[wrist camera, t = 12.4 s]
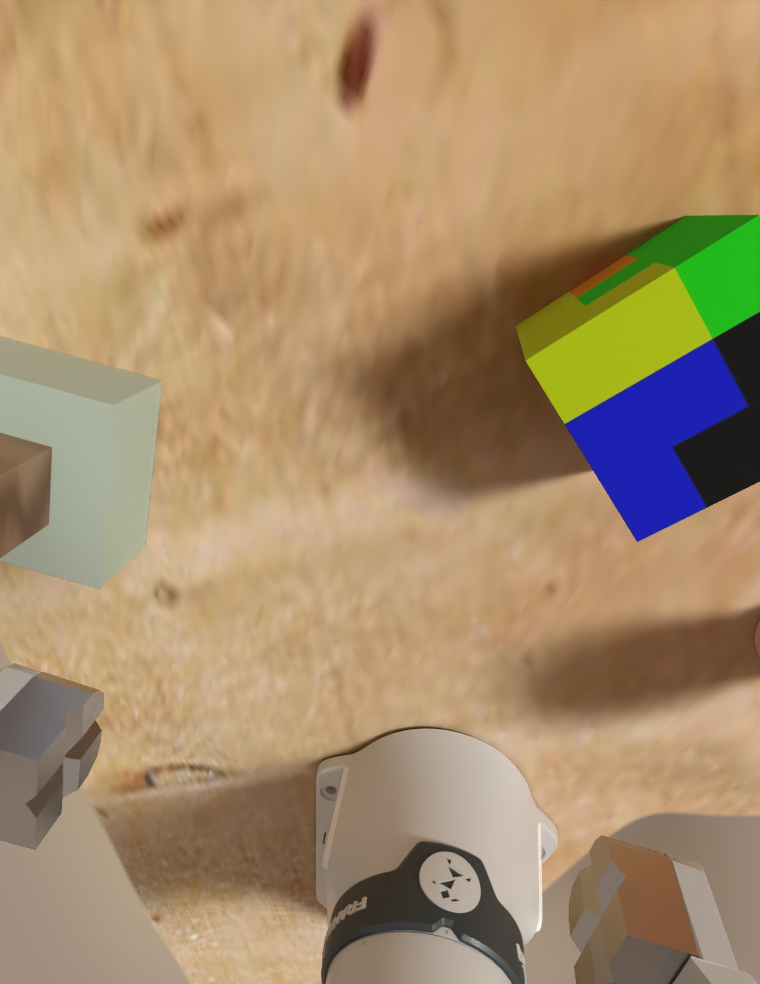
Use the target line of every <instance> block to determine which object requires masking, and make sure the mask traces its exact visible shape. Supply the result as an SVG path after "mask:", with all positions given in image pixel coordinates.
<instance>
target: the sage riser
mask: <svg viewBox="0 0 760 984" xmlns="http://www.w3.org/2000/svg"><path fill="white" fill-rule="evenodd" d="M161 388H162V381H161V380H158V379H154V378H150V377H147V376H143V375H139V374H136V373H132V372H128V371H125V370H121V369H117V368H114V367H110V366H106V365H103V364H99V363H95V362H92V361H88V360H84V359H81V358H77V357H73V356H70V355H66V354H62V353H59V352H55V351H51V350H48V349H44V348H40V347H37V346H33V345H29V344H26V343H22V342H18V341H15V340H11V339H7V338H3V337H0V433H3V434H7V435H11V436H14V437H18V438H21V439H25V440H28V441H32V442H35V443H39V444H42V445H46V446H49V447H52V464H51V488H50V512H49V525H47V526H46V527H44V528H43V529H41V530H40V531H39V532H37V533H36V534H34V535H33V536H32V537H30V538H29V539H27V540H26V541H24V542H23V543H22V544H20V545H19V546H17V547H16V548H14V549H13V550H12V551H10V552H9V553H7V554H6V555H5V556H3V557H2V558H0V561H3V562H6V563H10V564H13V565H17V566H20V567H24V568H27V569H31V570H34V571H38V572H41V573H45V574H48V575H52V576H55V577H59V578H62V579H66V580H69V581H73V582H76V583H79V584H83V585H86V586H90V587H93V588H97V589H101V588H102V587H103V586H104V585H105V584H106V583H107V582H108V581H109V580H110V579H111V578H112V577H113V576H114V575H115V574H116V573H117V572H118V571H119V570H120V569H121V568H123V567H124V566H125V565H126V564H127V563H128V562H129V561H130V560H131V559H132V558H133V557H134V556H135V555H136V554H137V553H138V552H139V551H140V550H141V549H142V548H143V547H144V546H145V542H146V533H147V523H148V513H149V504H150V494H151V484H152V475H153V465H154V456H155V446H156V436H157V427H158V417H159V407H160V398H161Z"/></svg>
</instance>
